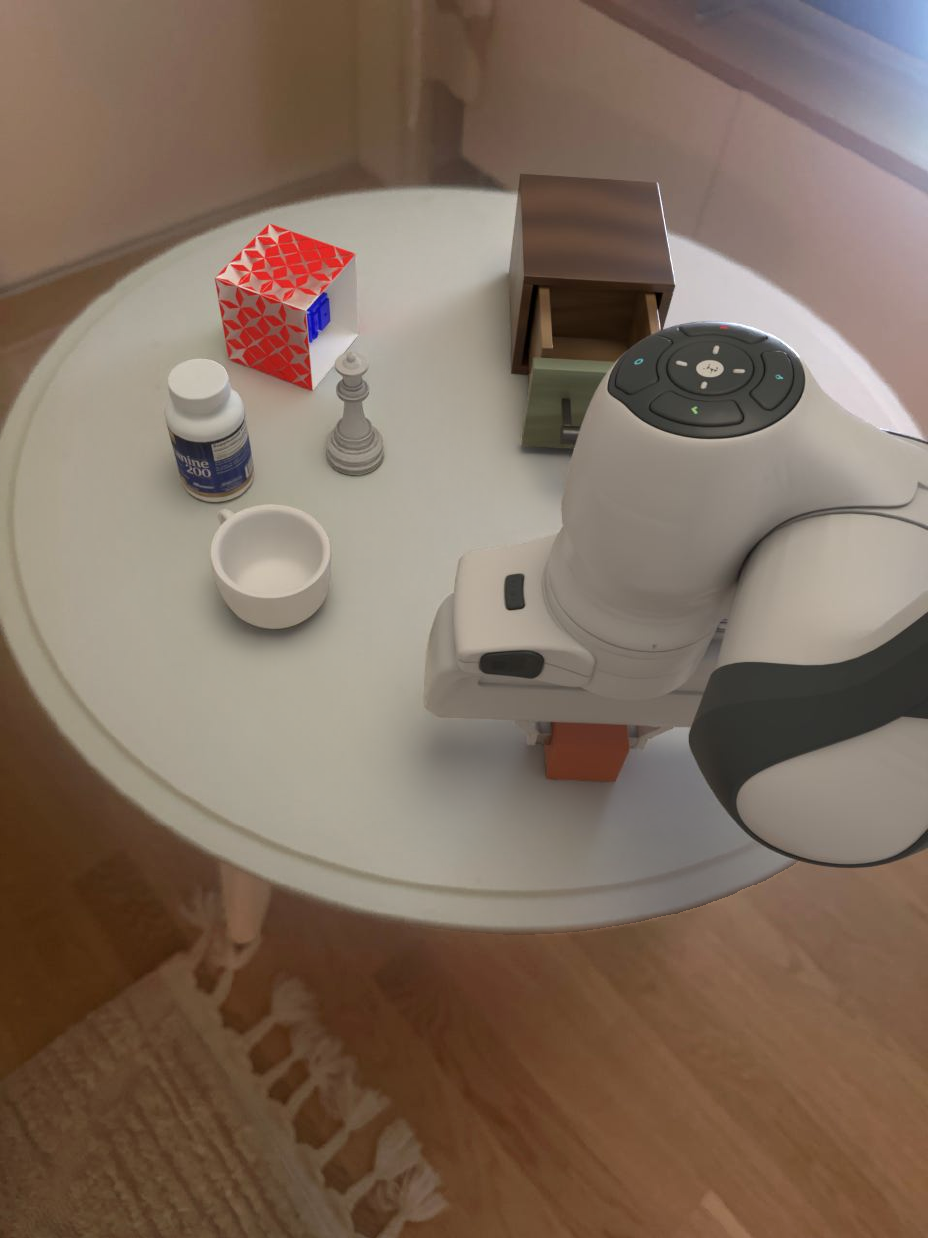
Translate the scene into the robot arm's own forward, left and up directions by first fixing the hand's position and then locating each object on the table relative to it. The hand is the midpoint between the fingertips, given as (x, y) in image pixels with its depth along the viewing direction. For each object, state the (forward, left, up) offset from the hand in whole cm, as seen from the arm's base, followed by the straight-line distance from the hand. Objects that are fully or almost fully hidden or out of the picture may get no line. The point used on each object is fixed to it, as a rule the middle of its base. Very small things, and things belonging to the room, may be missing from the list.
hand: (582, 736), depth 61 cm
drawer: (-2, -30, -1) cm, 30 cm away
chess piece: (+16, -24, -2) cm, 29 cm away
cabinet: (-2, -41, -2) cm, 42 cm away
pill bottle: (+26, -21, -2) cm, 34 cm away
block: (0, 0, -2) cm, 2 cm away
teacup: (+21, -11, -2) cm, 24 cm away
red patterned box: (+22, -36, -2) cm, 43 cm away
